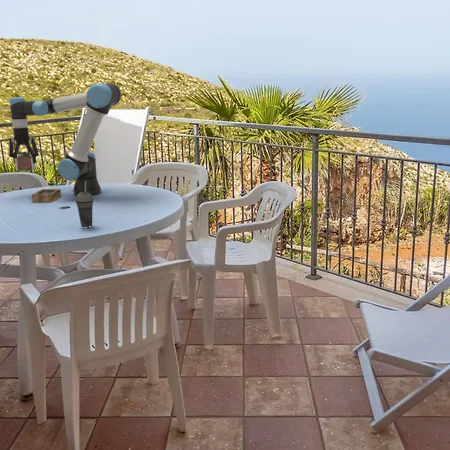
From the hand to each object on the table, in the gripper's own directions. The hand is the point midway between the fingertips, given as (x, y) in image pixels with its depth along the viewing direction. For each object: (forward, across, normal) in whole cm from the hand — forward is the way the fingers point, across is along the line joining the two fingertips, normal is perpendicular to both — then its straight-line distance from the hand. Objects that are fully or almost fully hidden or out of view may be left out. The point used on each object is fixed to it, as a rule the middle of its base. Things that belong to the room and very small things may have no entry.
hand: (26, 169), depth 276 cm
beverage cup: (+16, -51, +60) cm, 80 cm away
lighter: (0, 0, 0) cm, 0 cm away
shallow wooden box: (+15, -13, +7) cm, 21 cm away
